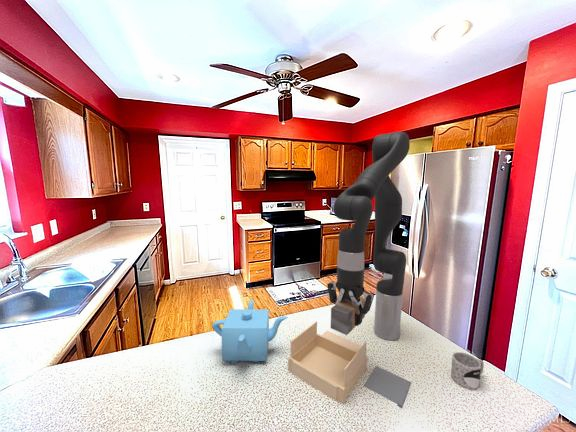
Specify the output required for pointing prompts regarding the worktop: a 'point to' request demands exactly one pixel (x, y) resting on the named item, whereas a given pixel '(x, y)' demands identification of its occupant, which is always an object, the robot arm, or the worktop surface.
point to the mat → (388, 385)
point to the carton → (327, 362)
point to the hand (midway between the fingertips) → (348, 321)
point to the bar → (344, 316)
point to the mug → (466, 370)
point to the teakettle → (246, 334)
